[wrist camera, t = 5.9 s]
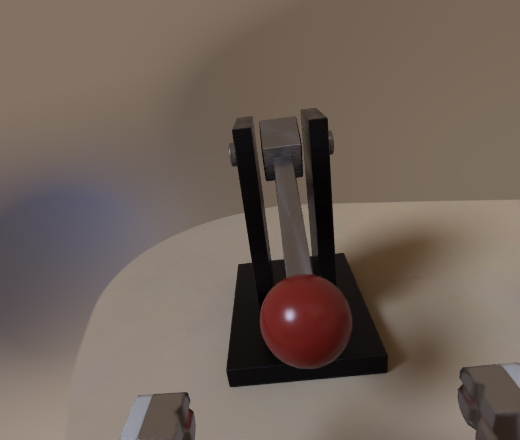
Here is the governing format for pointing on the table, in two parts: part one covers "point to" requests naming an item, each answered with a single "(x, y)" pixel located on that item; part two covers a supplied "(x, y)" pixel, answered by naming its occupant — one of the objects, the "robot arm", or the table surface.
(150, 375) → the table surface
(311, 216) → the bracket
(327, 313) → the lever
